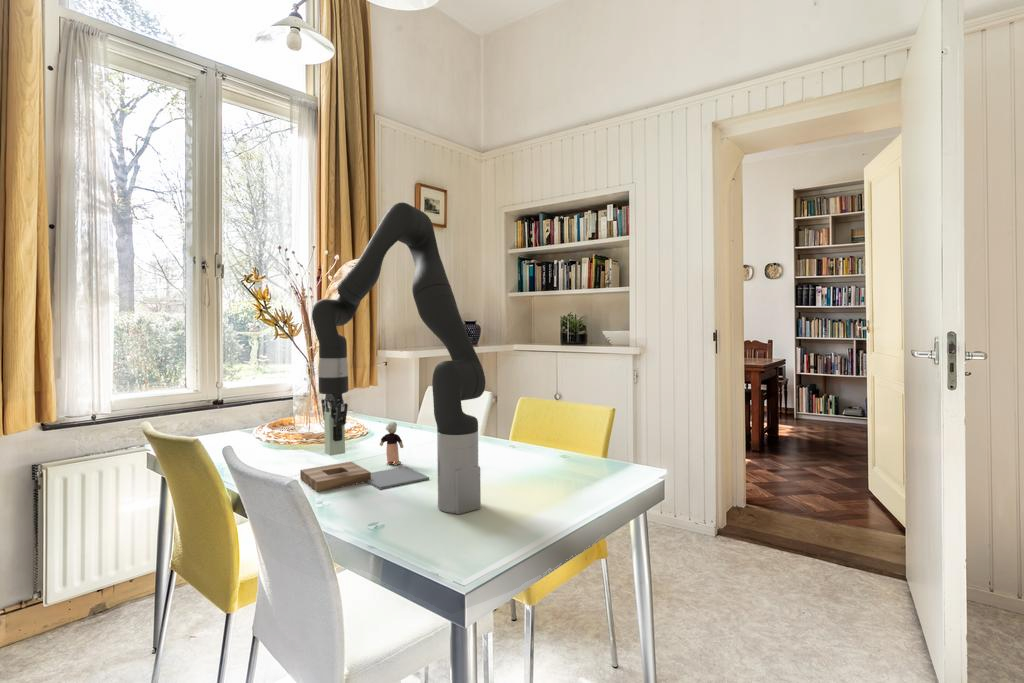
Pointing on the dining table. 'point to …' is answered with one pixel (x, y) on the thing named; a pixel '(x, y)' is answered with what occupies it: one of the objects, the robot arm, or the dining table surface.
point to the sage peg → (330, 444)
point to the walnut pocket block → (334, 476)
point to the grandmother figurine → (392, 443)
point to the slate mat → (395, 477)
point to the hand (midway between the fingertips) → (334, 438)
